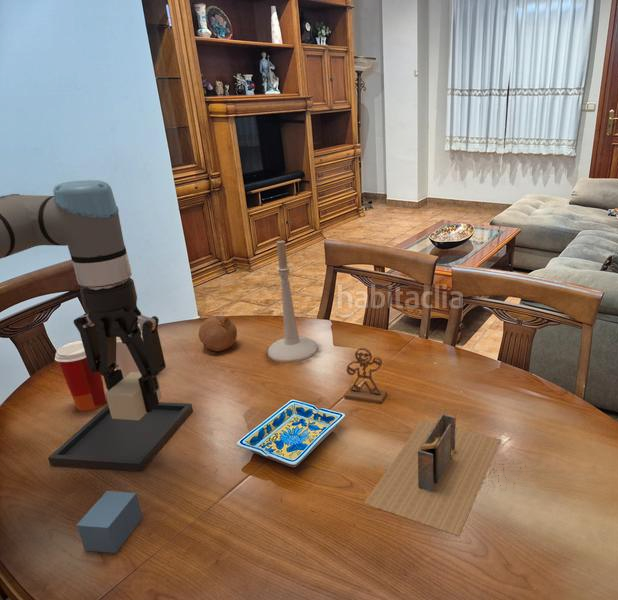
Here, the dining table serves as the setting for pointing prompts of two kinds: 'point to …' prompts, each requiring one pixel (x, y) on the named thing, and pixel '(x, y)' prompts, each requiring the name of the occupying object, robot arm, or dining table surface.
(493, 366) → the dining table surface
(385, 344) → the dining table surface
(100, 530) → the blue block
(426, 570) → the dining table surface
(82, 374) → the paper cup
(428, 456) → the architectural model on board
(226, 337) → the onion
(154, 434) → the tray
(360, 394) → the gingerbread man figurine
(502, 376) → the dining table surface
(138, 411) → the cream block
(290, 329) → the candlestick
